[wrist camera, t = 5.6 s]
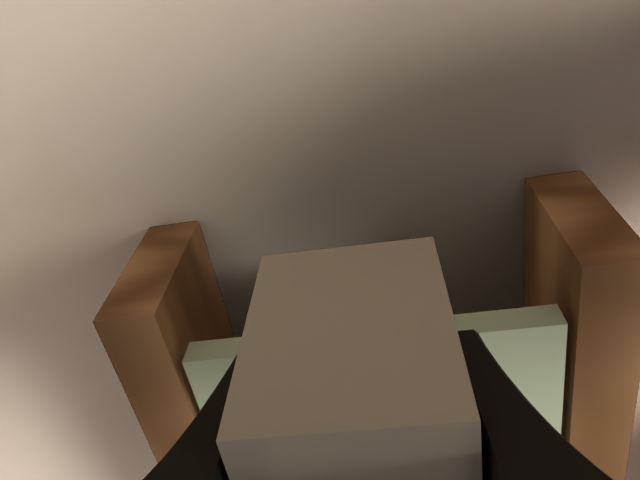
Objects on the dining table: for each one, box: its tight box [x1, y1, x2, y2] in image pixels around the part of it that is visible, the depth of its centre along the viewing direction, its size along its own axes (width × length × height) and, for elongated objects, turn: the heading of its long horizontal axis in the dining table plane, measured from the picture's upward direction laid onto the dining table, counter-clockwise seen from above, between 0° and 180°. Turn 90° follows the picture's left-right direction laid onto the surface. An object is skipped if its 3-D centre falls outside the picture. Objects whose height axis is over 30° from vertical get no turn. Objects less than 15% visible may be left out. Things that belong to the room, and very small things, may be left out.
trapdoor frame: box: [93, 171, 640, 480], centre depth 23 cm, size 17×16×6 cm
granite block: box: [216, 237, 482, 480], centre depth 13 cm, size 4×4×6 cm
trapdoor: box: [182, 304, 568, 434], centre depth 20 cm, size 12×11×3 cm
